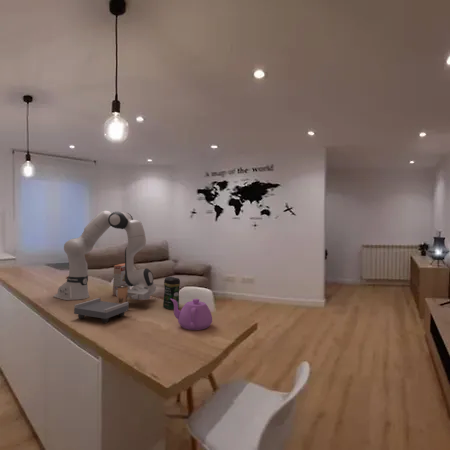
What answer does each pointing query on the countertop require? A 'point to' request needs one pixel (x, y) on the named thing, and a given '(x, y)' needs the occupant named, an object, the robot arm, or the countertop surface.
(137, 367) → the countertop surface
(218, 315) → the countertop surface
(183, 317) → the teakettle
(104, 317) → the grey rimmed tray
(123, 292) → the canister
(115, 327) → the countertop surface
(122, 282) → the cracker box
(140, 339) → the countertop surface
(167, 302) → the coffee jar
